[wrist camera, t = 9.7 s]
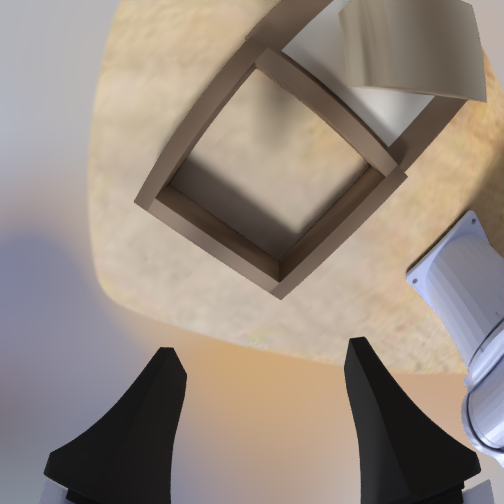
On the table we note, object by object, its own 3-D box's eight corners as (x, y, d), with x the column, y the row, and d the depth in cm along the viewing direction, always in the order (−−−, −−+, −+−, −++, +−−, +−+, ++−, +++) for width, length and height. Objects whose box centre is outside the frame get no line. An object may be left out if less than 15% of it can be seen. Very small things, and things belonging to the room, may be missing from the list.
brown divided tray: (471, 82, 11) (494, 84, 9) (284, 281, 20) (286, 303, 18) (344, -46, 8) (355, -62, 6) (143, 184, 17) (126, 197, 15)
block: (411, 24, 9) (471, 5, 4) (420, 94, 12) (486, 102, 7) (338, 13, 10) (376, -26, 5) (348, 88, 12) (396, 84, 7)
